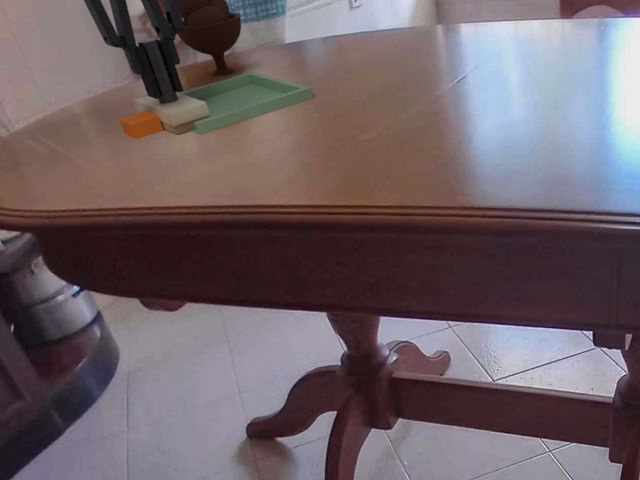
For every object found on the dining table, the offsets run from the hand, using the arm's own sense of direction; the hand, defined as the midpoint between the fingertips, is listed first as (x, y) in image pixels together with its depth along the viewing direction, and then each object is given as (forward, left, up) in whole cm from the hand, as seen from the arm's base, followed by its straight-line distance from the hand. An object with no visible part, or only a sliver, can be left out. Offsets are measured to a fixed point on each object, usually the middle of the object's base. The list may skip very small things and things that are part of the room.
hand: (165, 93), depth 98 cm
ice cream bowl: (-20, +18, -5) cm, 27 cm away
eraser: (0, -5, -5) cm, 7 cm away
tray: (0, +9, -5) cm, 10 cm away
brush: (0, 0, -4) cm, 4 cm away
